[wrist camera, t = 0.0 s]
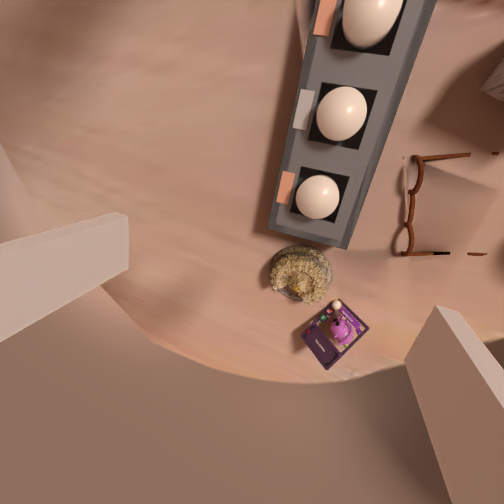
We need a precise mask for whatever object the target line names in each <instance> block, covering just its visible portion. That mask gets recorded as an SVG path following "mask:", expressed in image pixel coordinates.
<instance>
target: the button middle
mask: <svg viewBox="0 0 504 504" xmlns="http://www.w3.org/2000/svg"><path fill="white" fill-rule="evenodd" d="M366 114H367V105H366V101H365V99H364V97H363V95H362V94H361V93H360V92H359V91H358V90H356V89H354V88H352V87H339V88H336V89H334V90H332V91H330V92H329V93H328V94H327V95H326V96H325V97H324V98H323V99H322V101H321V102H320V104H319V107H318V110H317V117H316V118H317V125H318V127H319V130H320V131H321V133H322V134H323V135H324V136H325V137H326V138H328V139H330V140H333V141H343V140H346V139H348V138H350V137H351V136H353V135H354V134H355V133H356V132H357V131H358V130H359V129H360V128H361V126H362V125H363V123H364V121H365V118H366Z"/></svg>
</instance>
